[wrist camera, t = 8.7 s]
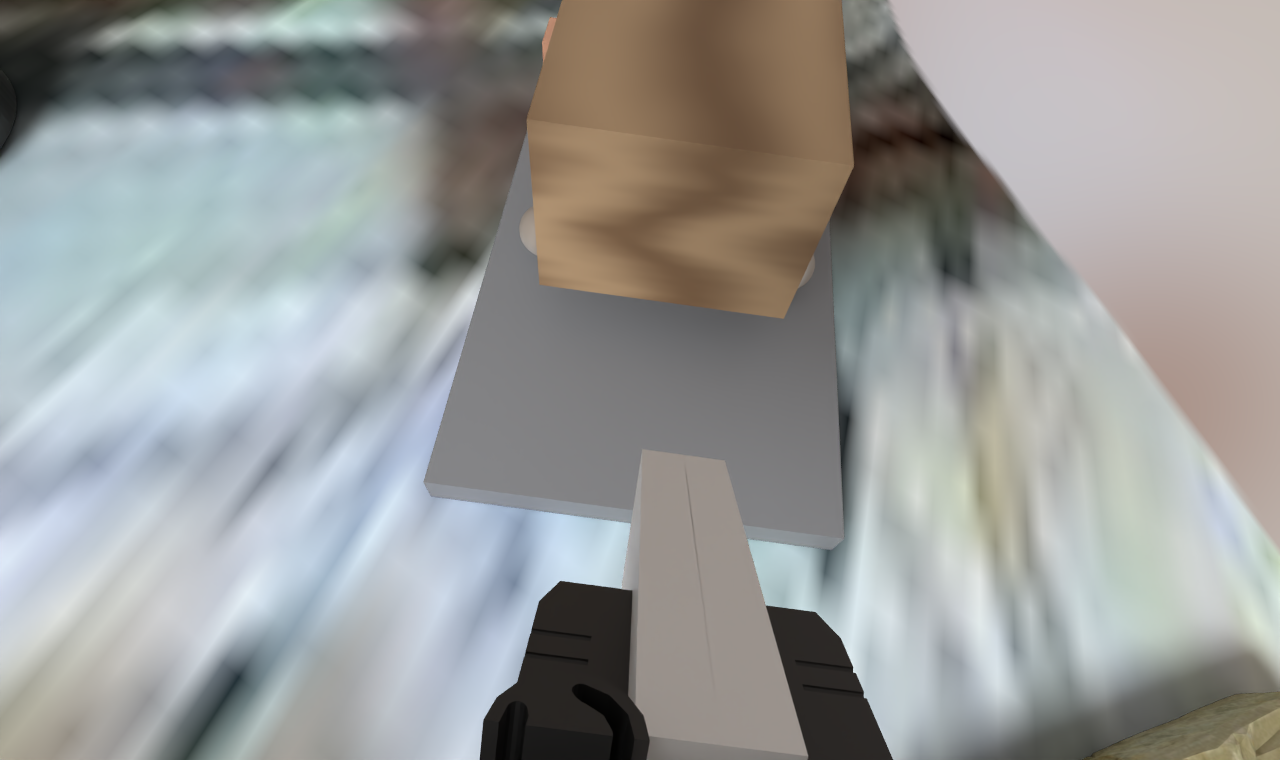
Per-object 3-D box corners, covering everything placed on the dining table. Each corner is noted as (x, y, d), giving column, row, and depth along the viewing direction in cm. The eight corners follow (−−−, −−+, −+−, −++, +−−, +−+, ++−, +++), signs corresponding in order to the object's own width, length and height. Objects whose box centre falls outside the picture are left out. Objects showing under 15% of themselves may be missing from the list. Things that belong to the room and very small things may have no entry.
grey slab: (431, 496, 26) (391, 422, 21) (536, 126, 38) (529, 14, 32) (831, 549, 27) (898, 491, 21) (817, 166, 38) (859, 61, 32)
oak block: (503, 313, 29) (470, 111, 20) (552, 130, 35) (543, -88, 26) (807, 356, 29) (909, 173, 20) (803, 166, 35) (880, -39, 26)
